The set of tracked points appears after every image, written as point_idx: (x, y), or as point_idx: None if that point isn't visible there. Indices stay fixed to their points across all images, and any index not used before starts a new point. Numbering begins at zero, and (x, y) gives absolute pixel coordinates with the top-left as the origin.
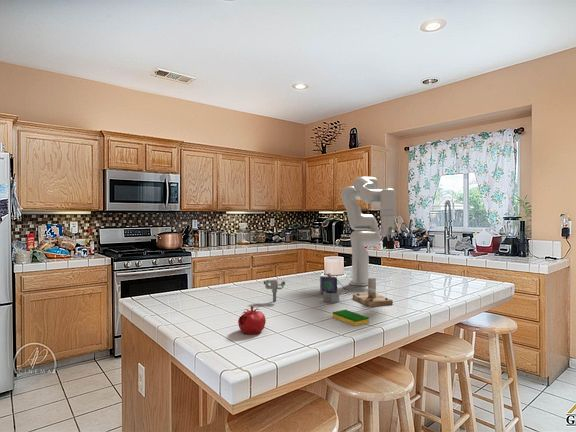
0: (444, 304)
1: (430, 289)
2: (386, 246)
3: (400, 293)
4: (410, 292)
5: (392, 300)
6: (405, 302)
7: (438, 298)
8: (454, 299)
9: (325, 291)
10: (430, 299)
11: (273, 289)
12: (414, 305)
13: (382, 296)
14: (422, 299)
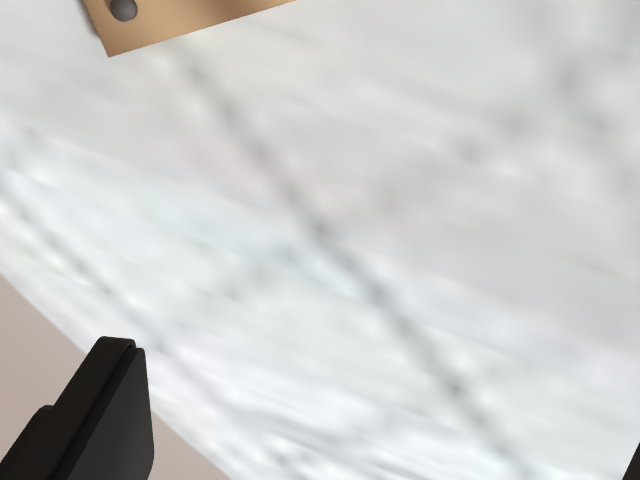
0: (158, 374)
1: (557, 462)
2: (634, 471)
3: (483, 238)
4: (500, 317)
5: (108, 55)
6: (194, 172)
7: (304, 404)
8: (276, 464)
9: None
10: (280, 354)
11: None
12: (114, 201)
13: (238, 6)
14: (281, 311)
